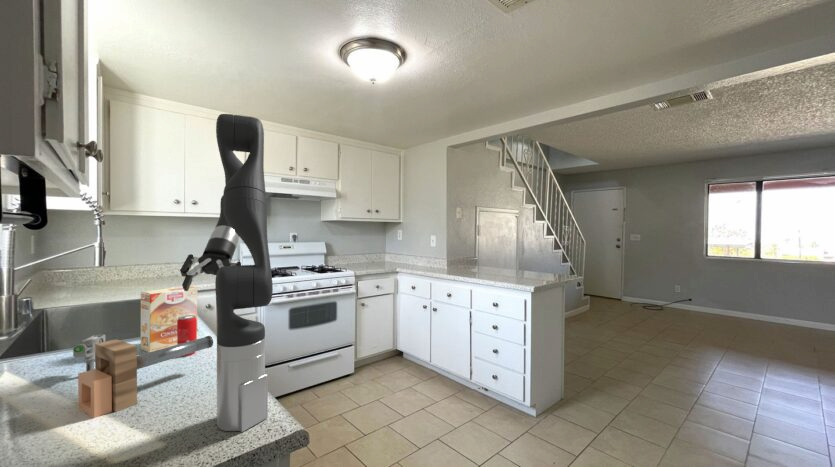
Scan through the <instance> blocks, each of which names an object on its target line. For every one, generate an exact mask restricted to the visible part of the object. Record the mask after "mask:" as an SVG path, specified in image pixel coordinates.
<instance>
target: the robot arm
mask: <svg viewBox="0 0 835 467" xmlns="http://www.w3.org/2000/svg"><path fill="white" fill-rule="evenodd" d="M215 127H216V128H215V135H216V142H217V147H218V148H217V149H218V152H219V156H220V160H221V165H222V168H223V171H224V173H223V174H224V181H225V182H224V183H225V186H224V187H223V195H222V196H221V198H220V207H219V208H220V209H219V210H220V212H219V218H218V221H217V223H216V225H215V227H214V230H213V232H211V234H210V237H209V239H208V242H207V243H206V246H205V248H204V250H203V252H202V255H201V256H200V257H198V256H197V257H196V256H194V254H188V255H187V257H186V259H185V261H184V262H183V264H182V266H181V267H180V270H179V272H180V275H181V277H184V279H183V281H182V286H181V287H183V289H184V291H188V289H189V287H190V286H191V285H192V282H193V279H194V278H196V277H197V276H202V274H204V273H205V275H213V276H215V282H214V283H215V284H214V286H215V287H214V288H215V302H216V303H215V304H216V318H217V319H216V325H217V327H216V426H217V428H218V429H219V430H221V431H225V432H236V431H237V432H241V433H243V432H245V431H247V430H248V429H250V428H252V427H253V426H255V425H257V424H259V423H261V422H263V421H264V420H266V419H268V417H269V415H268V411H269V410H268V409H269V408H268V407H269V406H268V399H269V398H268V395H269V392H268V391H269V387H268V386H269V384H268V382H269V377H268V376H269V375H268V374H266V328H265V325H264V324H263V323H262V322H260V321H256V320H252V319H247V318H244V317H241V316H239V315H238V314H236V313H235V312H234V311H235V310H241V309H252V308H262V307H267V306H269V305H270V304H271V301H272V298H273V290H274V289H273V288H274V285H273V276H272V266H271V259H270V251H269V243H268V213H267V212H268V207H267V206H268V205H267V192H266V184H265V181H266V180H265V171H264V170H265V168H264V165H265V164H264V163H265V162H264V161H265V160H264V158H265V157H264V154H265V152H264V151H265V149H264V148H265V133H264V132H265V130H264V125H263V123H262V121H261V120H260V119H259V118H256V117H254V116H247V115H240V114H232V113H221V114H219V115H218V117H217V118H216V123H215ZM234 152H240V153H249V154H248V156H247V159H246V160H245V162H244V163H243V162H242V161H241V160H240V159H239V158H238V157H237V155H236V154H235V153H234ZM239 239H241V240H242V242H243V243H244V244H245V245H246V248H247V249H248V251H249V253H250V255H251V258H252V260H253V263H254V264H244V265H243V264H242V263H241V261H237V262H232V260H233V257H234V255H235V251H236V249H237V246H238V243H239ZM196 263H198V264H197V265H195V264H196ZM194 265H195V266H194ZM192 266H193V268H192V269H191V267H192Z"/></svg>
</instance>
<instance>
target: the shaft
mask: <svg viewBox="0 0 835 467" xmlns="http://www.w3.org/2000/svg"><path fill="white" fill-rule="evenodd" d="M213 345H214V340H213V337H212V336H211V335H207V336H206V335H205V336H204V337H201V338H197V339H196V340H193V341H189V342H185V343H182V344H178V345H174V346H171V347H167V348H163V349H160V350H156V351H152V352H146V353H141V354H139V355H137V370H140V369H143V368H146V367H149V366H152V365H153V366H154V365H157V364H159V363H163V362H166V361H169V360H173V359H176V358H178V357H184V356H183V355H186V354H190V353H193V352H195V353H197V352H199V351H202V350H205V349H211V348H212V347H213Z"/></svg>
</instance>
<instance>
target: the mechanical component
mask: <svg viewBox="0 0 835 467" xmlns="http://www.w3.org/2000/svg"><path fill="white" fill-rule="evenodd" d="M105 341H106V334H94V335H91V336H90V337H87V338H86V339H82V343H80V344H79V343H78V344H77V345H75V346H73V348H72V350H73V351H72V356H73V358H74V359H79V358H83V361H84V362H85V364H86V366H85V368H86V371H85V372H87V371H90V370H94V369H95V344H97V343H101V342H105Z"/></svg>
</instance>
